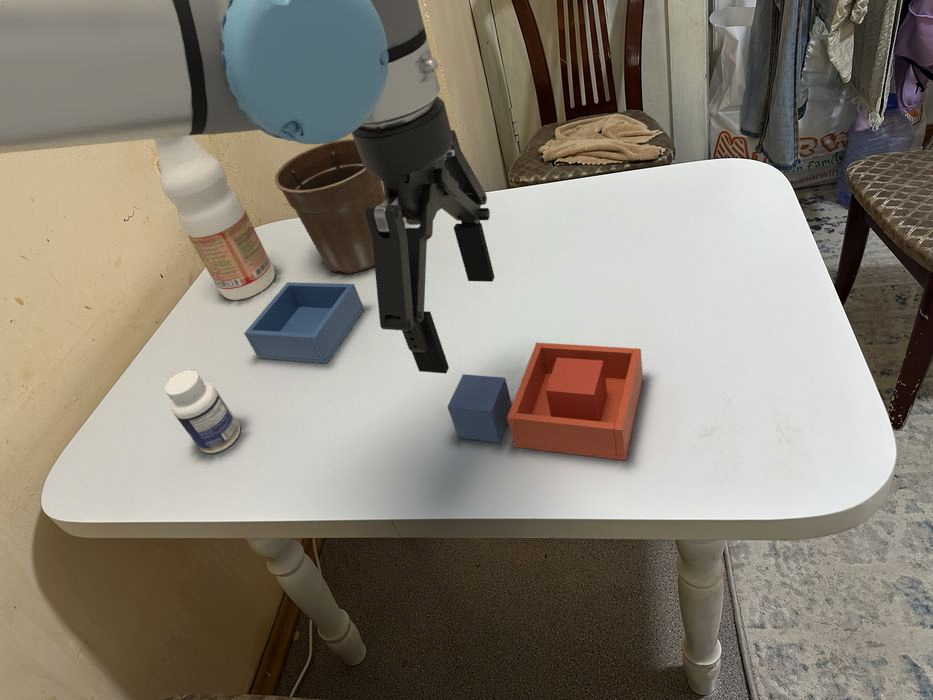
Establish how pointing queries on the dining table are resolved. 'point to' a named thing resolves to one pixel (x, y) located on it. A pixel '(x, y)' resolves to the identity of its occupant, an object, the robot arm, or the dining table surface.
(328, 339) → the blue bin
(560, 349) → the red bin
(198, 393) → the pill bottle
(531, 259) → the dining table surface
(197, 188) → the fruit juice
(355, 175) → the plant pot
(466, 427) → the blue block
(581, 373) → the red block
